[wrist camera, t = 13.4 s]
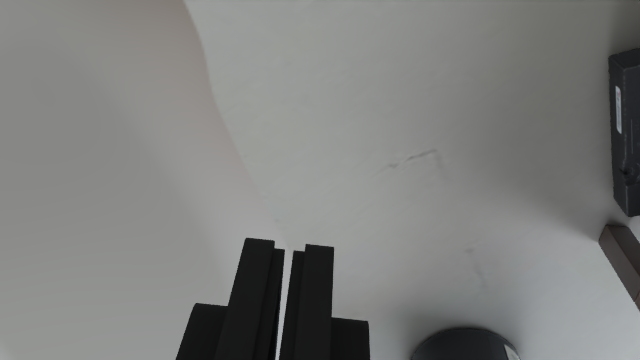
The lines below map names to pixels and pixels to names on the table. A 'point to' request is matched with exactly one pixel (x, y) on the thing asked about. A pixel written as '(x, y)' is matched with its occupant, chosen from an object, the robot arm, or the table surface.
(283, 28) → the table surface
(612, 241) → the drawer unit
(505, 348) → the ink bottle
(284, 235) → the table surface
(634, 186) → the disk drive
